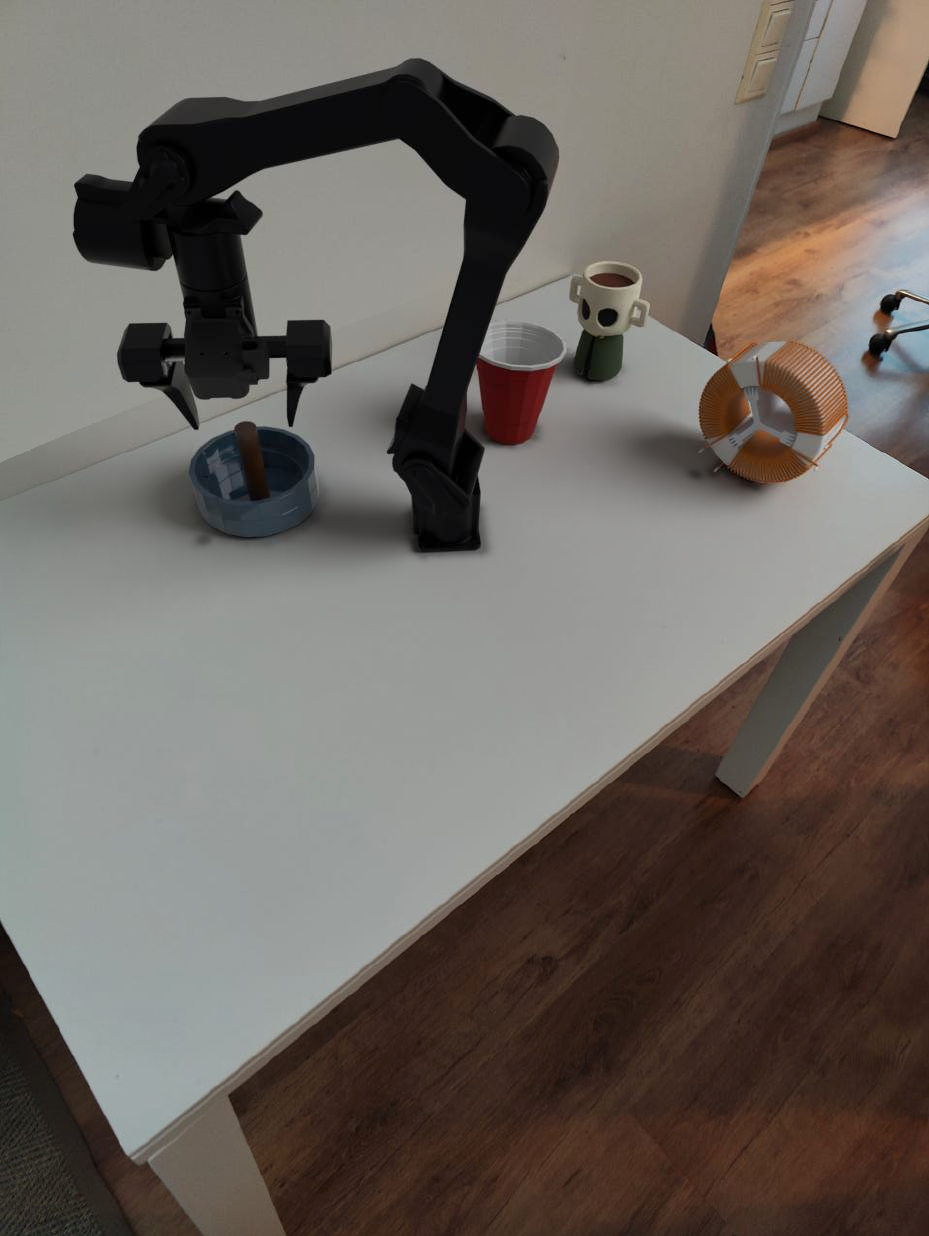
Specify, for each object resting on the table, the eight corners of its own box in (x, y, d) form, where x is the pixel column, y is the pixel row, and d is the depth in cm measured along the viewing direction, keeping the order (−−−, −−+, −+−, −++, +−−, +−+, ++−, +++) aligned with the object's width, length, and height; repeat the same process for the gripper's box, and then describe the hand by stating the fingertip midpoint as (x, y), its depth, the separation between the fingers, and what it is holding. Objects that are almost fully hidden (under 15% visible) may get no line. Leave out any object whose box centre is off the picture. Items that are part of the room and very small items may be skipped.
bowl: (320, 460, 94) (315, 424, 90) (318, 538, 86) (312, 502, 82) (206, 464, 93) (196, 428, 89) (192, 543, 85) (181, 507, 81)
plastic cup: (571, 422, 100) (585, 332, 91) (527, 469, 94) (537, 378, 85) (495, 393, 104) (501, 303, 95) (448, 436, 98) (450, 345, 88)
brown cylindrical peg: (270, 489, 90) (257, 420, 83) (269, 502, 88) (255, 433, 81) (250, 489, 89) (235, 421, 83) (248, 503, 88) (233, 434, 81)
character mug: (546, 367, 108) (558, 271, 98) (575, 344, 112) (589, 249, 102) (619, 398, 104) (638, 301, 94) (646, 373, 108) (667, 277, 98)
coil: (709, 428, 100) (744, 315, 89) (823, 483, 94) (877, 369, 83) (679, 454, 97) (712, 340, 85) (796, 513, 90) (848, 398, 79)
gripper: (80, 327, 64) (134, 482, 76) (321, 322, 66) (338, 475, 77) (106, 259, 71) (152, 410, 83) (324, 256, 73) (338, 405, 85)
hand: (244, 426), depth 82 cm, fingers open, 9 cm apart
